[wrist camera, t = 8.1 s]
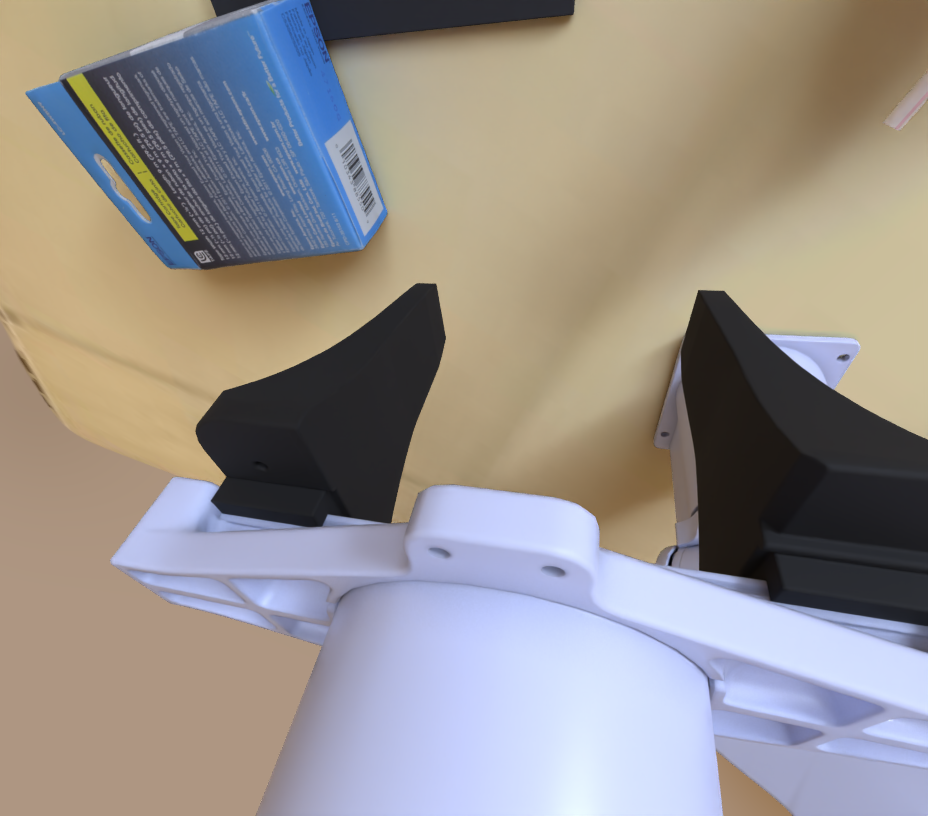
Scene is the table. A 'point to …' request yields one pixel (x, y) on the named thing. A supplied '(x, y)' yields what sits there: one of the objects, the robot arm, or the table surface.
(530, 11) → the mat
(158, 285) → the table surface
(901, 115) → the smoothie
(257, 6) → the label tape box
